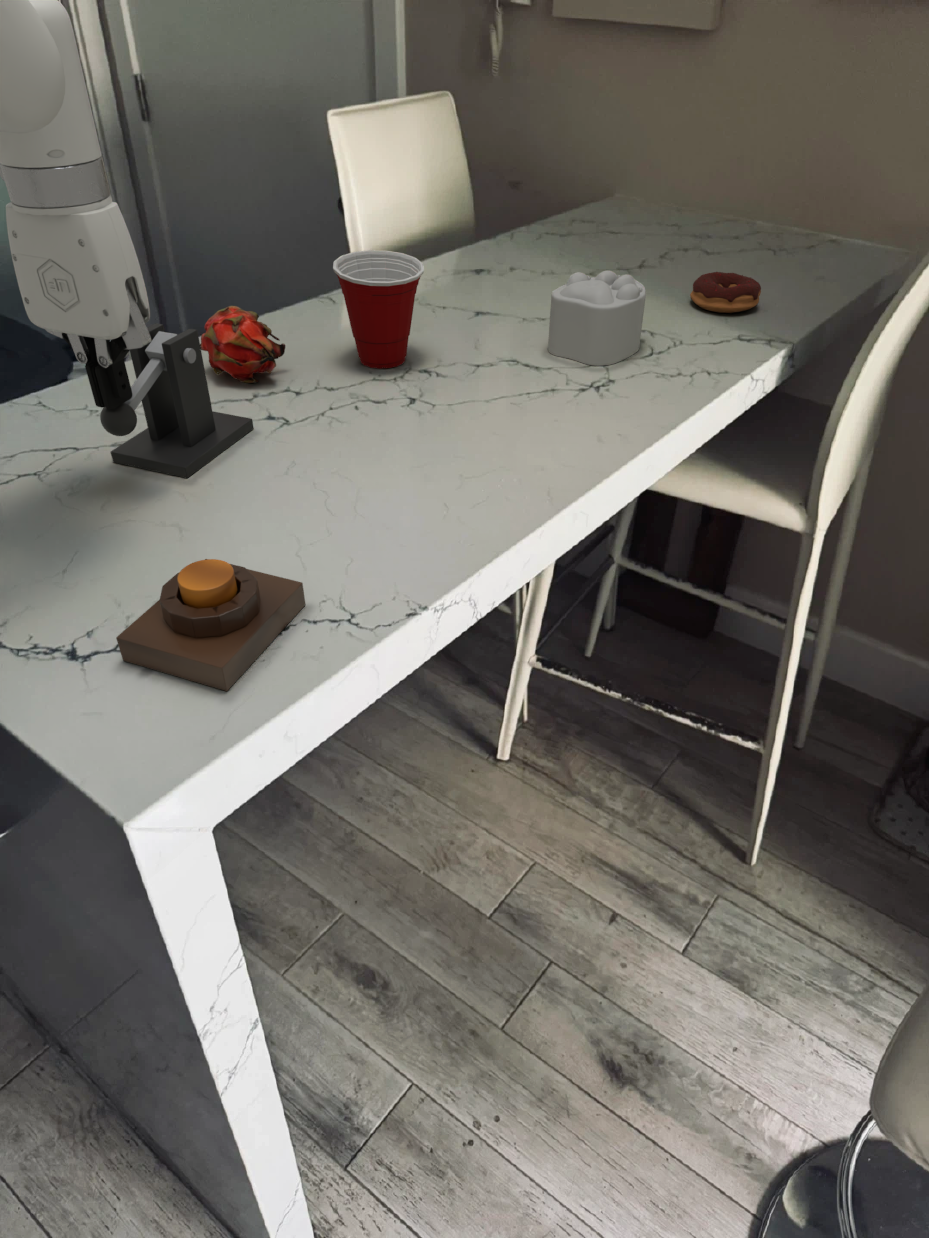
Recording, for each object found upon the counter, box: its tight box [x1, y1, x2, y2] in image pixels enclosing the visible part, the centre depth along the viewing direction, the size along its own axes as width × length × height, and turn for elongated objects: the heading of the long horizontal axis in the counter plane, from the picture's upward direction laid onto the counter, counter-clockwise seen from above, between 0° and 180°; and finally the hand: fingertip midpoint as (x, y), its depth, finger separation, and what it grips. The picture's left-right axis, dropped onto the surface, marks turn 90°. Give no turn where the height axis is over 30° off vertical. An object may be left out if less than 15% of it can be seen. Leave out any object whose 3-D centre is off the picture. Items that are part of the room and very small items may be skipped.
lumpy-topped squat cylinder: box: [547, 269, 647, 367], centre depth 112 cm, size 10×13×9 cm
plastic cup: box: [332, 249, 425, 370], centre depth 106 cm, size 11×11×12 cm
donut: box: [689, 271, 762, 314], centre depth 126 cm, size 10×10×4 cm
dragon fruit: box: [200, 305, 286, 384], centre depth 104 cm, size 8×8×12 cm
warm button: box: [177, 558, 237, 609], centre depth 64 cm, size 4×4×2 cm
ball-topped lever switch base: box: [110, 322, 255, 479], centre depth 88 cm, size 12×9×12 cm
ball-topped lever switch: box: [99, 331, 178, 437], centre depth 83 cm, size 12×3×3 cm, turn 159°
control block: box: [115, 558, 306, 692], centre depth 65 cm, size 11×9×4 cm
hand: (115, 402), depth 80 cm, fingers closed
